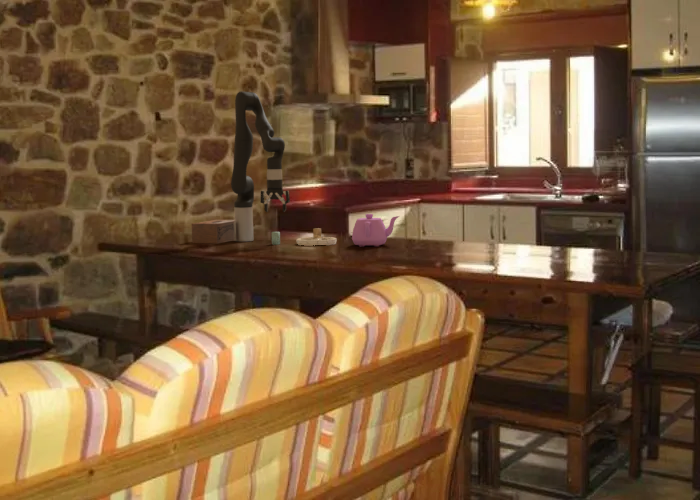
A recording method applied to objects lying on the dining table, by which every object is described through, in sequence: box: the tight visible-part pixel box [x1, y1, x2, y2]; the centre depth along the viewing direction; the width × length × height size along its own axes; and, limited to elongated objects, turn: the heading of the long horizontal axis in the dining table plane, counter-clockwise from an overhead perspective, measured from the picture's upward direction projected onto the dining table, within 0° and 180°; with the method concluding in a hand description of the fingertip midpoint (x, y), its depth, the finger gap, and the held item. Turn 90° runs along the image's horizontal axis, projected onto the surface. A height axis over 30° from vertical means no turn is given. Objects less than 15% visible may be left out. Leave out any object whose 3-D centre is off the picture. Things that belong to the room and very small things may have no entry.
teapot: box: [351, 213, 400, 247], centre depth 445 cm, size 23×21×15 cm
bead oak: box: [312, 227, 322, 238], centre depth 464 cm, size 4×4×6 cm
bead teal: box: [271, 231, 281, 246], centre depth 460 cm, size 4×4×6 cm
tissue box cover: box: [191, 219, 235, 244], centre depth 484 cm, size 26×14×10 cm, turn 158°
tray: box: [296, 236, 338, 247], centre depth 459 cm, size 19×19×2 cm
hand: (275, 211), depth 459 cm, fingers open, 8 cm apart
